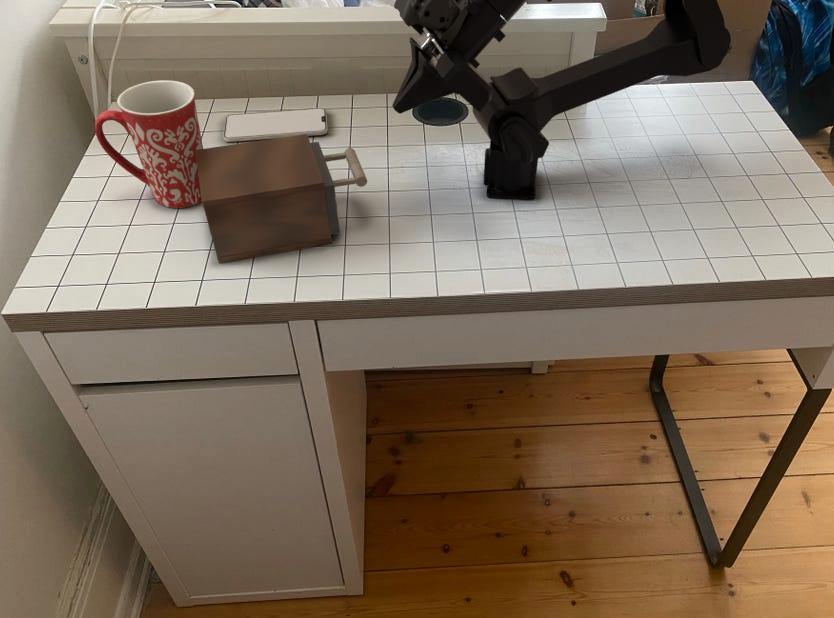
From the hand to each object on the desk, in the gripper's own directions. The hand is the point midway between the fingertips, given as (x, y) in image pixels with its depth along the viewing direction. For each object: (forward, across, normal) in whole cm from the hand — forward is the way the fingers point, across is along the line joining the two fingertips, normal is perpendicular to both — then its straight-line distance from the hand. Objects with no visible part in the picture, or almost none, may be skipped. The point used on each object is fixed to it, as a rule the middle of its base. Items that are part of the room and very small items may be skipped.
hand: (395, 110), depth 88 cm
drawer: (+18, 0, 0) cm, 18 cm away
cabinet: (+21, 0, -2) cm, 21 cm away
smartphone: (+18, -25, +1) cm, 31 cm away
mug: (+30, -11, -10) cm, 33 cm away
